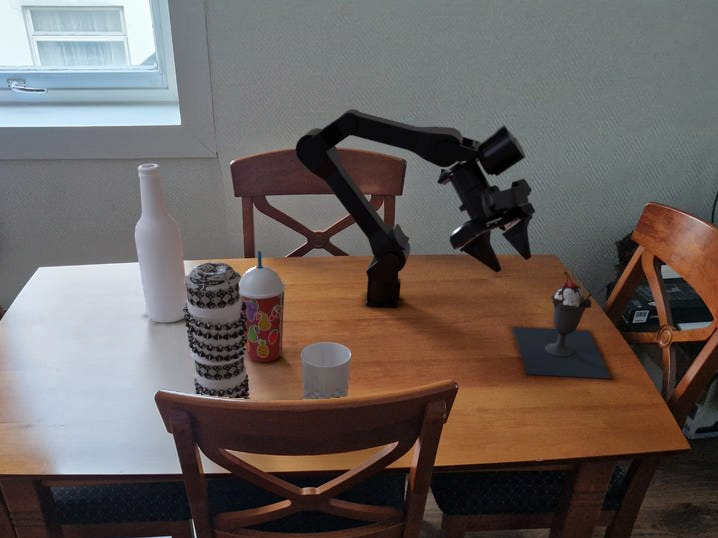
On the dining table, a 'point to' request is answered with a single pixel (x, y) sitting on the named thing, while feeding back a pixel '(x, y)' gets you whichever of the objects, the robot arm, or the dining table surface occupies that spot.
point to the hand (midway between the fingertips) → (514, 264)
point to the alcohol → (159, 251)
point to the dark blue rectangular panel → (544, 364)
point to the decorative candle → (217, 330)
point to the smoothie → (263, 311)
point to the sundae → (567, 315)
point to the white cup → (325, 370)
